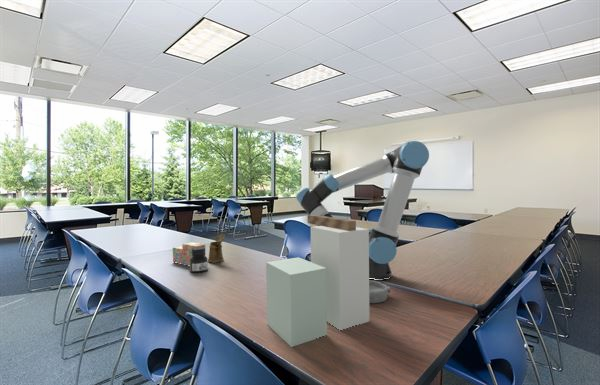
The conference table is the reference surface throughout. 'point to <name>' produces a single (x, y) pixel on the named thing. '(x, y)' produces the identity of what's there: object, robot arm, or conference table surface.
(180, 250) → the stack of blocks
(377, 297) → the dish
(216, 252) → the brown burlap sack
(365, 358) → the conference table surface
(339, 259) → the off-white rectangular block
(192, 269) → the ink bottle
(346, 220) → the walnut bar
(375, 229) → the robot arm
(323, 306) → the low stand
